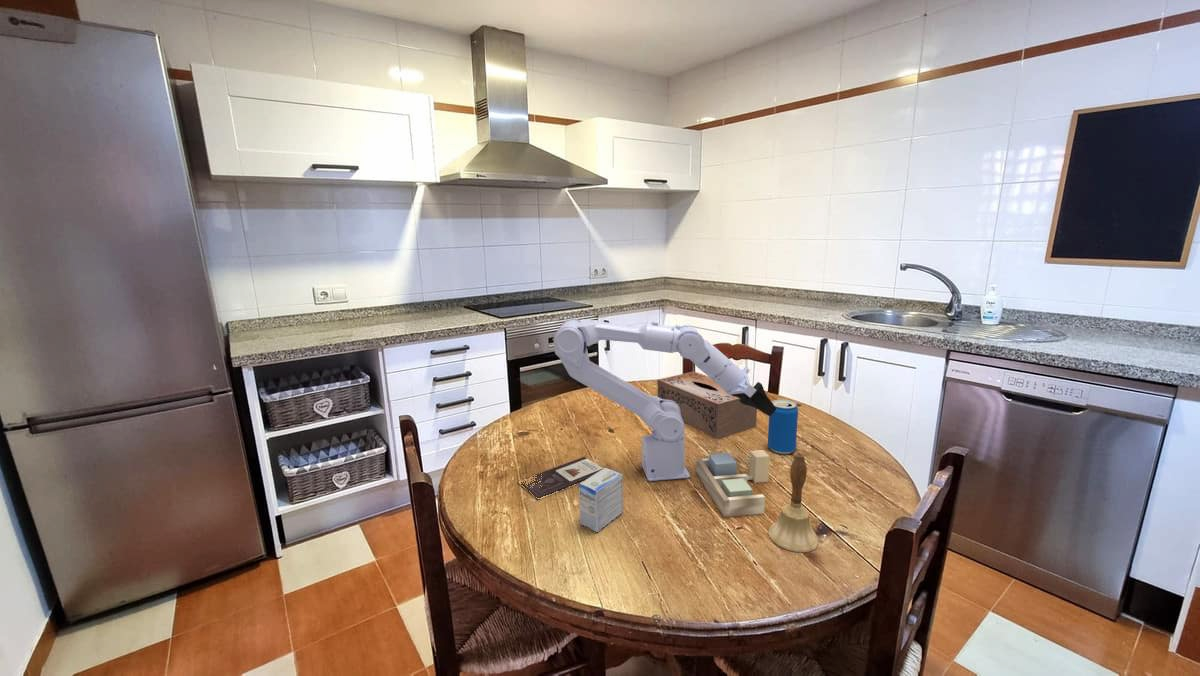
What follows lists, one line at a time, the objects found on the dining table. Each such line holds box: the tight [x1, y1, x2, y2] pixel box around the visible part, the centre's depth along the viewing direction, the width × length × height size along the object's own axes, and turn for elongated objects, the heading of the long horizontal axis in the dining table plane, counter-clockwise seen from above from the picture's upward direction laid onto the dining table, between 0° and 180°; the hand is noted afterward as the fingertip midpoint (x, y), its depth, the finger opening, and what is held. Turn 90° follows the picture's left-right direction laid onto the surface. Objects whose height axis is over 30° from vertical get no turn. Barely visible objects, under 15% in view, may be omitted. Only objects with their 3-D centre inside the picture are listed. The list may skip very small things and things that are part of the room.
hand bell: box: [767, 453, 820, 554], centre depth 81 cm, size 8×8×16 cm
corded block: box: [708, 449, 771, 484], centre depth 102 cm, size 12×4×6 cm, turn 96°
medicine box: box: [578, 467, 624, 533], centre depth 89 cm, size 8×4×9 cm, turn 141°
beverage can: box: [767, 399, 799, 455], centre depth 115 cm, size 6×6×12 cm
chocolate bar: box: [521, 456, 604, 498], centre depth 106 cm, size 9×1×18 cm
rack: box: [696, 457, 766, 518], centre depth 98 cm, size 8×17×4 cm, turn 6°
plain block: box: [722, 478, 753, 497], centre depth 94 cm, size 4×4×4 cm
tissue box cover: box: [656, 371, 758, 440], centre depth 136 cm, size 26×14×10 cm, turn 30°
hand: (765, 407), depth 103 cm, fingers open, 7 cm apart
